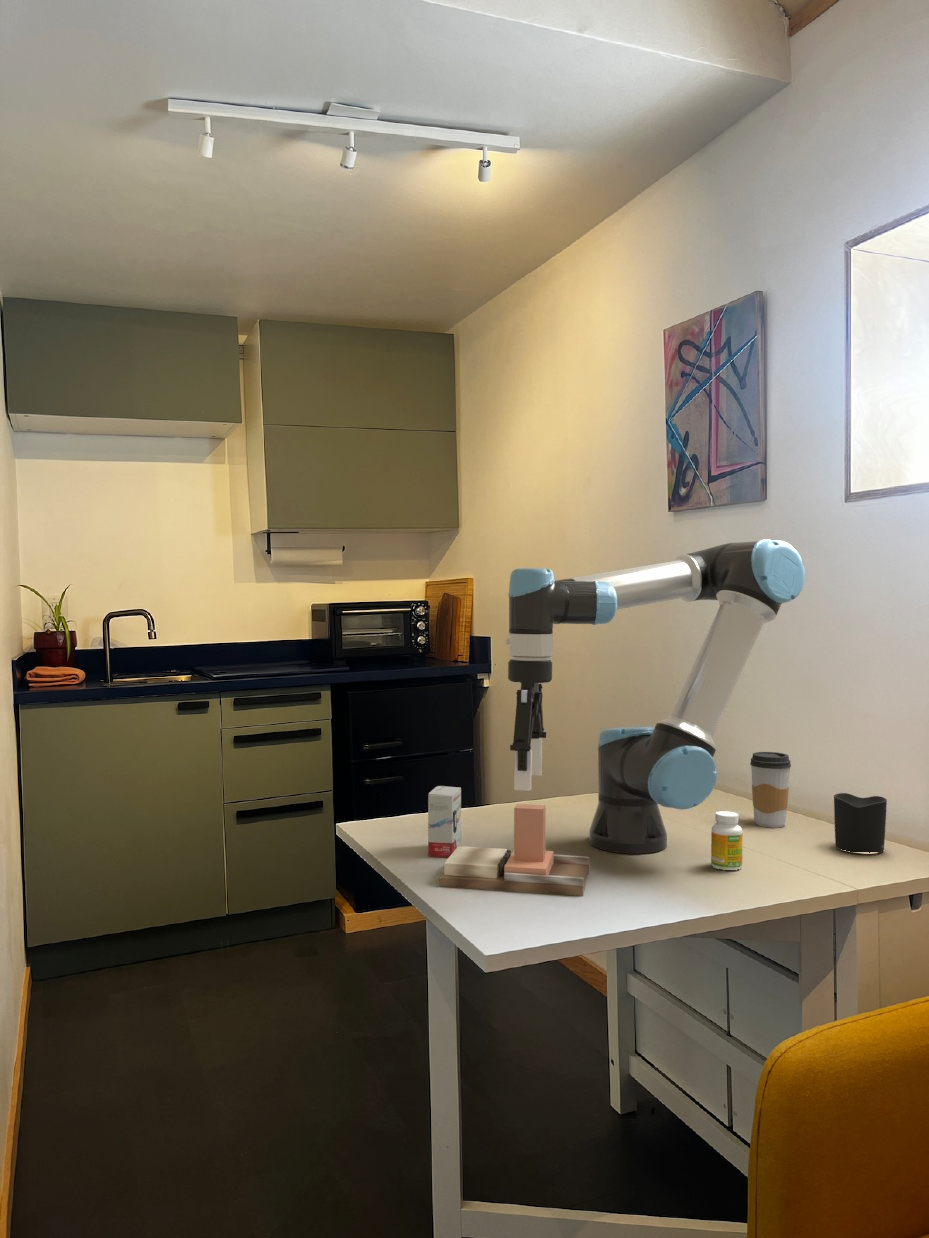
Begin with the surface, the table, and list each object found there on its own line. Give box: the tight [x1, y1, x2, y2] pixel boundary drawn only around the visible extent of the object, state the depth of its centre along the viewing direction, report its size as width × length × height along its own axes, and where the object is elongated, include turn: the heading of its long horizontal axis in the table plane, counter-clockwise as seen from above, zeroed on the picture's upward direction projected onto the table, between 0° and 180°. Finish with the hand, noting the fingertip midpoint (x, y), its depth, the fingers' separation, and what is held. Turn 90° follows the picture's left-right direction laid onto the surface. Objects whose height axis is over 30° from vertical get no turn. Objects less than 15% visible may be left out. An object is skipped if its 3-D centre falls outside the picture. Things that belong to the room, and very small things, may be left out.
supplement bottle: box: [710, 810, 743, 871], centre depth 168 cm, size 5×5×10 cm
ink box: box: [427, 785, 462, 858], centre depth 178 cm, size 9×5×12 cm, turn 168°
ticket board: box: [438, 845, 590, 897], centre depth 161 cm, size 24×14×4 cm, turn 78°
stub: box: [504, 803, 555, 875], centre depth 160 cm, size 7×11×11 cm, turn 168°
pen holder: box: [833, 792, 888, 853], centre depth 180 cm, size 9×9×10 cm
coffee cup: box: [749, 751, 792, 829], centre depth 199 cm, size 8×8×15 cm
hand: (528, 782), depth 160 cm, fingers open, 13 cm apart
